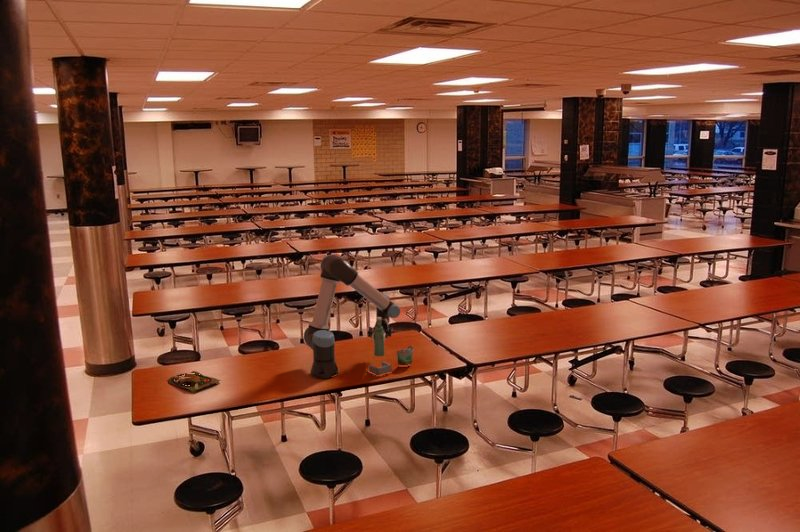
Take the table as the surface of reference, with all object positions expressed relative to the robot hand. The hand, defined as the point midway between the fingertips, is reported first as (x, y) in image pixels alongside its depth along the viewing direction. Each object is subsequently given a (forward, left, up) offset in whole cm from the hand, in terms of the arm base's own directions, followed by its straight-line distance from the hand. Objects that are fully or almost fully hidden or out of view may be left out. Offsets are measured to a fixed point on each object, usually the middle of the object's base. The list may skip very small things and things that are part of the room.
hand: (378, 338), depth 332 cm
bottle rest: (-4, +3, -21) cm, 22 cm away
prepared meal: (-53, -83, -22) cm, 101 cm away
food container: (-3, +22, -22) cm, 31 cm away
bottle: (-4, +3, -11) cm, 12 cm away
